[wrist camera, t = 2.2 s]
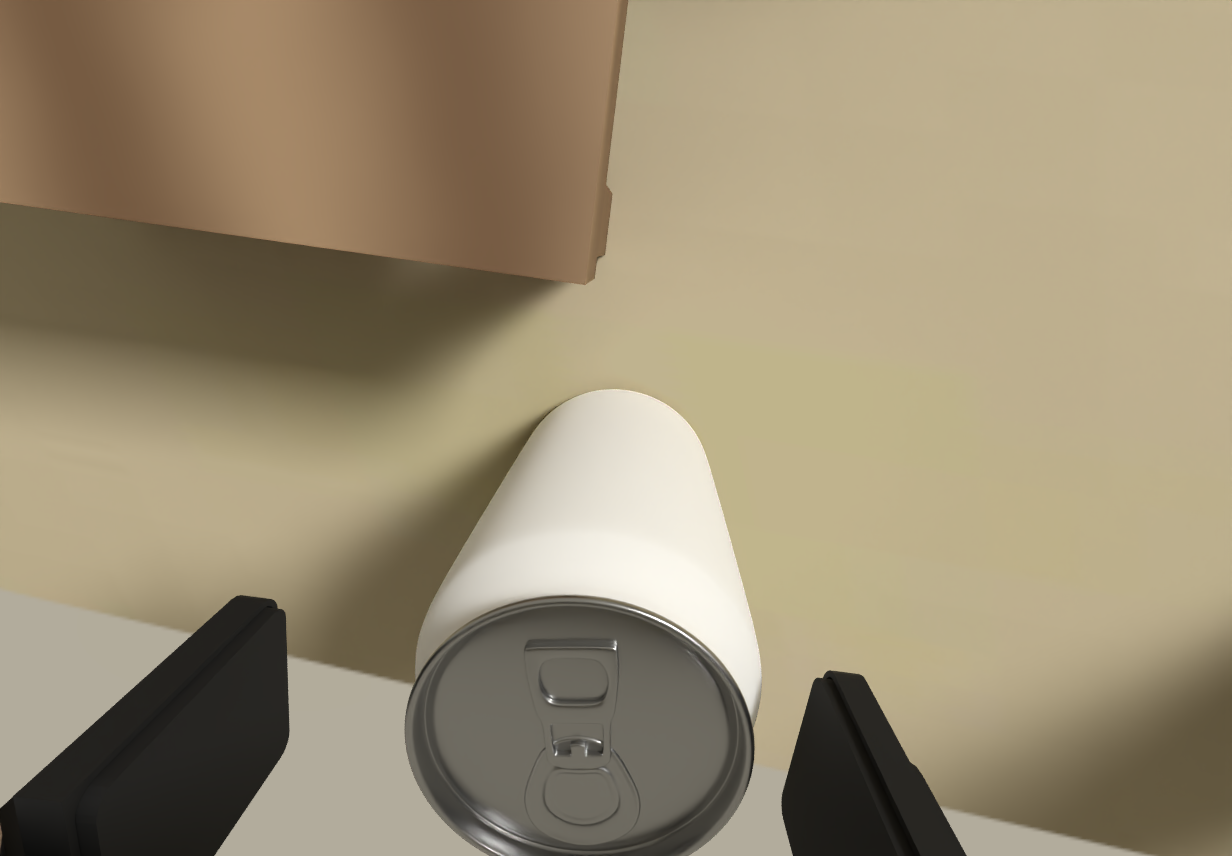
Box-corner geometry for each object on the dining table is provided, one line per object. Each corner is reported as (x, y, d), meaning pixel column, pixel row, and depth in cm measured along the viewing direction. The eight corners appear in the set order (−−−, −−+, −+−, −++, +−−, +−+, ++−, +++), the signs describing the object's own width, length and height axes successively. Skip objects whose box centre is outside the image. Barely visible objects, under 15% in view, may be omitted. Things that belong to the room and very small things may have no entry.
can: (530, 560, 22) (406, 897, 11) (515, 387, 20) (345, 575, 9) (708, 557, 22) (776, 905, 10) (709, 382, 20) (792, 570, 9)
